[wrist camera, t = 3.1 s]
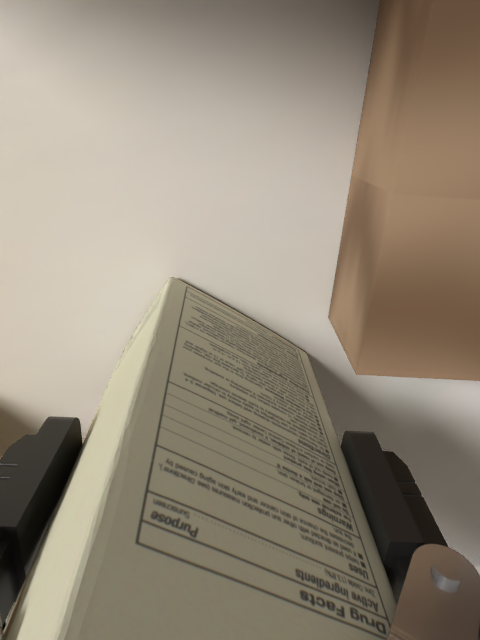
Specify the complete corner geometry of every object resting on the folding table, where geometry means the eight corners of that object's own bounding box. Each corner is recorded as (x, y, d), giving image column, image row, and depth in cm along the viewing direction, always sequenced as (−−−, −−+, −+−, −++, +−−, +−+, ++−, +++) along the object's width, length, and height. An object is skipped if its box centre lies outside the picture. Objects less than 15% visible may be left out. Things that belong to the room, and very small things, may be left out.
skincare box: (115, 361, 17) (-119, 837, 6) (172, 269, 15) (5, 666, 4) (255, 433, 18) (290, 921, 7) (318, 356, 17) (487, 819, 6)
